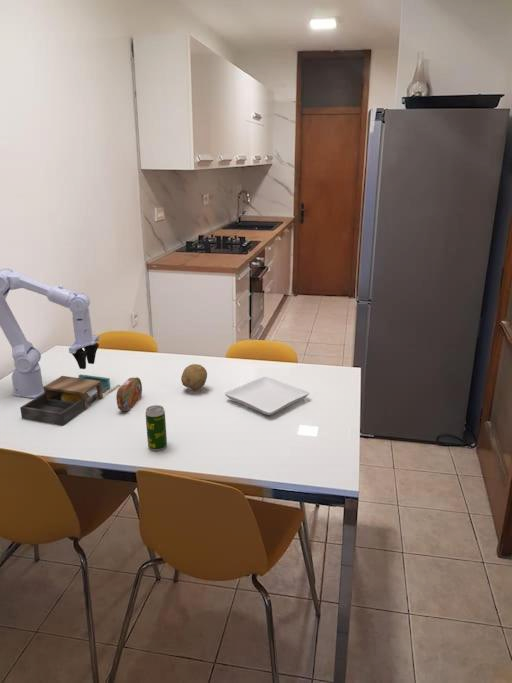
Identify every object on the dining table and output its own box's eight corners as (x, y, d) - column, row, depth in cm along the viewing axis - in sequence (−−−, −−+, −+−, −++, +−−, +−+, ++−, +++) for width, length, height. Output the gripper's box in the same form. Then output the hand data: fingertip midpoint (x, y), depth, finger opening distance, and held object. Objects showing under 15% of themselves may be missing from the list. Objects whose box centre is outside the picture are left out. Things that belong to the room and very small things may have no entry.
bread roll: (91, 402, 181) (90, 391, 180) (64, 408, 177) (63, 397, 176) (84, 393, 188) (83, 383, 187) (58, 399, 183) (57, 389, 182)
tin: (125, 415, 172) (122, 391, 169) (116, 414, 172) (113, 390, 169) (143, 396, 186) (141, 373, 183) (135, 395, 186) (133, 373, 183)
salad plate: (310, 400, 182) (311, 391, 181) (269, 422, 167) (269, 412, 166) (264, 383, 196) (264, 375, 195) (223, 402, 181) (222, 393, 180)
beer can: (158, 440, 156) (156, 403, 152) (171, 446, 153) (168, 408, 149) (144, 447, 152) (141, 409, 148) (156, 453, 149) (153, 415, 145)
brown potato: (186, 397, 184) (184, 371, 181) (178, 388, 192) (177, 362, 188) (210, 393, 187) (209, 366, 184) (202, 384, 195) (201, 358, 192)
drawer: (47, 405, 178) (46, 395, 177) (81, 383, 195) (80, 374, 194) (78, 409, 175) (77, 399, 173) (110, 387, 192) (109, 378, 190)
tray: (20, 418, 170) (17, 400, 168) (82, 380, 199) (80, 364, 197) (64, 425, 165) (61, 407, 163) (120, 385, 194) (118, 369, 192)
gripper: (79, 336, 175) (84, 374, 179) (104, 324, 188) (108, 360, 192) (61, 334, 177) (66, 372, 181) (87, 322, 190) (91, 358, 195)
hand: (87, 366), depth 187 cm, fingers open, 4 cm apart
